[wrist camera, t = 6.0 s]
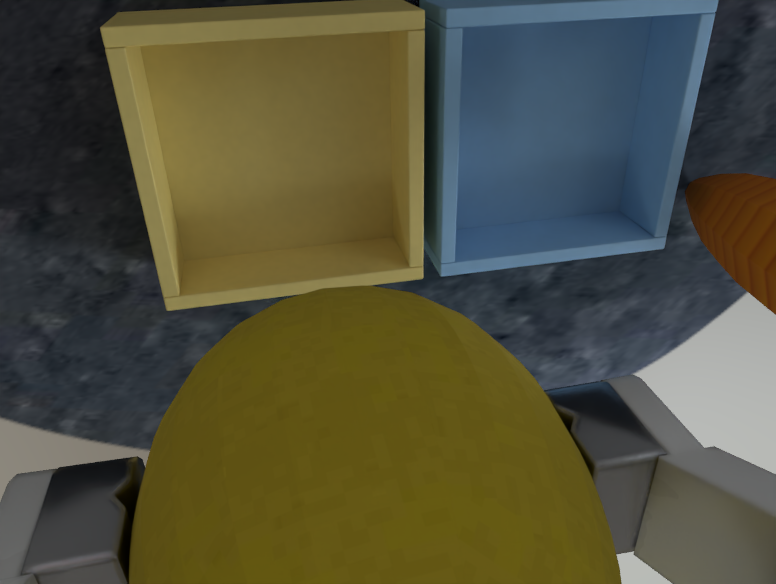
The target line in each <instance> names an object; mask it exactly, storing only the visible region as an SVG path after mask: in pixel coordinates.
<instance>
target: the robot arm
mask: <svg viewBox="0 0 776 584" xmlns="http://www.w3.org/2000/svg"><path fill="white" fill-rule="evenodd" d="M544 392H545V394H546V395H547V396H548V398H549V400H550V401H551V403H552V405H553V406H554V408H555V410H556V412H557V413H558V415H559V417H560V418H561V420H562V422H563V423H564V425H565V427H566V428H567V430H568V432H569V434H570V435H571V437H572V439H573V441H574V442H575V444H576V446H577V448H578V449H579V451H580V453H581V455H582V457H583V459H584V461H585V464H586V466H587V468H588V470H589V472H590V474H591V476H592V479H593V482H594V484H595V487H596V489H597V492H598V495H599V497H600V500H601V503H602V505H603V509H604V512H605V515H606V518H607V522H608V525H609V528H610V531H611V534H612V539H613V543H614V547H615V551H616V554H621V553H627V552H632V551H634V555H635V556H637V557H638V558H639V559H640V560H642V561H643V562H644V563H646V564H648V565H649V566H650V567H651V568H652V569H654V570H655V571H657V572H658V573H659V574H661V575H662V576H663V577H665V578H666V579H667V580H669V581H670V582H671V583H673V584H776V474H773V473H771V472H769V471H767V470H765V469H763V468H760V467H758V466H756V465H754V464H751V463H749V462H747V461H745V460H743V459H741V458H738V457H736V456H734V455H732V454H730V453H727V452H725V451H723V450H721V449H719V448H716V447H708V448H704V447H703V446H702V445H701V444H700V443H699V442H698V441H697V439H696V438H695V437H694V436H693V435H692V434H691V433H690V432H689V431H688V430H687V429H686V428H685V426H684V425H683V424H682V423H681V422H680V421H679V420H678V419H677V418H676V416H675V415H674V414H673V413H672V412H671V411H670V410H669V409H668V408H667V406H666V405H665V404H664V403H663V402H662V401H661V400H660V399H659V398H658V397H657V395H655V393H654V392H653V391H652V390H651V389H650V388H649V387H648V386H647V384H646V383H645V382H644V381H643V380H642V379H641V378H639V377H637V376H635V375H627V376H622V377H616V378H611V379H605V380H601V381H600V382H599V381H596V382H591V383H585V384H579V385H573V386H567V387H561V388H555V389H550V390H544ZM144 472H145V466H144V463H143V460H142V459H141V458H139V457H130V458H123V459H116V460H109V461H102V462H95V463H88V464H80V465H73V466H66V467H59V468H58V469H51V470H43V471H36V472H29V473H21V474H17V475H16V476H15V477H14V478H13V479H12V480H11V481H10V482H9V483H8V485H7V487H6V489H5V492H4V494H3V497H2V500H1V502H0V584H129V554H130V543H131V532H132V524H133V519H134V514H135V509H136V504H137V499H138V495H139V491H140V487H141V484H142V480H143V476H144Z"/></svg>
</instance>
